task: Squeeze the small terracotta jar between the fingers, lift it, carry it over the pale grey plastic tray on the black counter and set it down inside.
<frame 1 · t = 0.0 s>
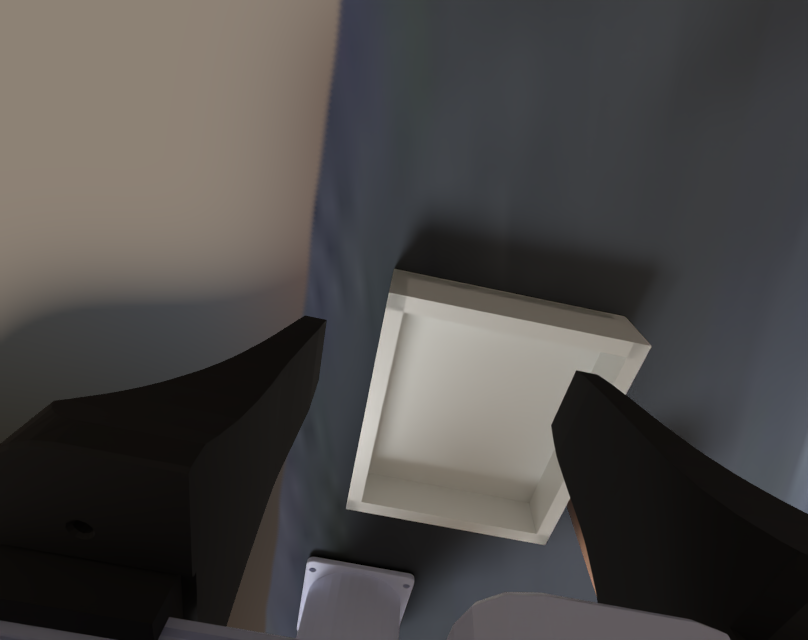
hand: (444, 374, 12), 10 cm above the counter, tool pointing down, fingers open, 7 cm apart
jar: (598, 503, 28), on the counter
tray: (473, 401, 25), on the counter
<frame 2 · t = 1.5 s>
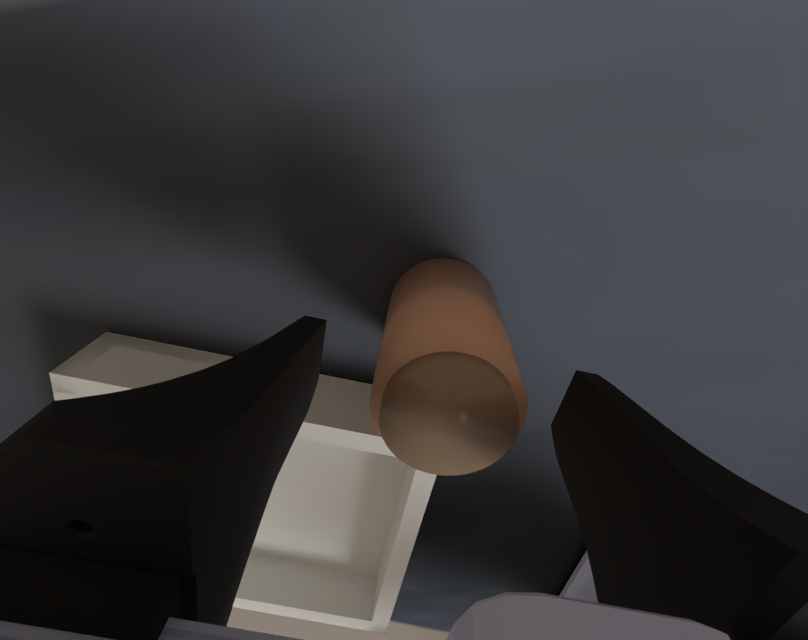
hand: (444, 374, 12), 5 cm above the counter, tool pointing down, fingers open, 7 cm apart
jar: (442, 308, 17), on the counter
tray: (268, 469, 21), on the counter
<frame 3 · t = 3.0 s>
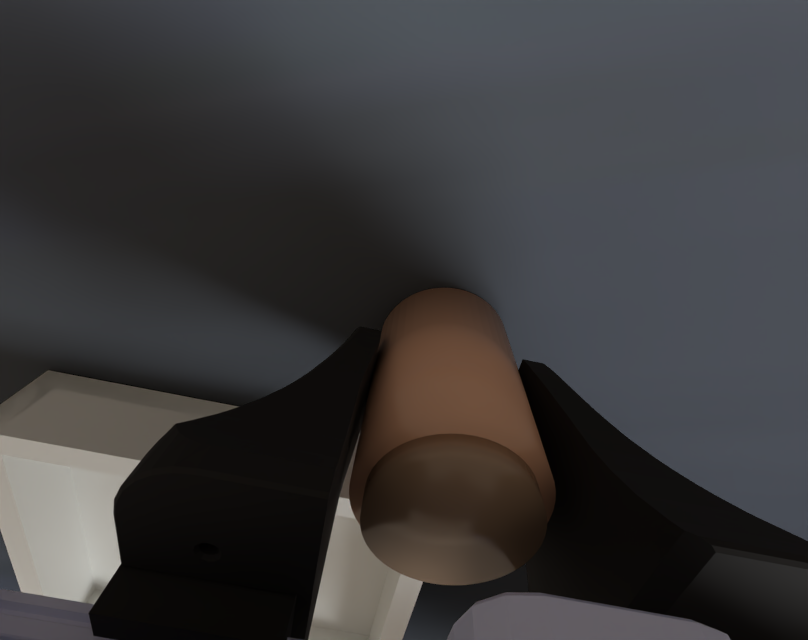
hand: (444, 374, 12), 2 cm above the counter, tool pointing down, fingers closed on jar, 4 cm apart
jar: (442, 345, 14), on the counter, touching gripper
tray: (244, 521, 18), on the counter
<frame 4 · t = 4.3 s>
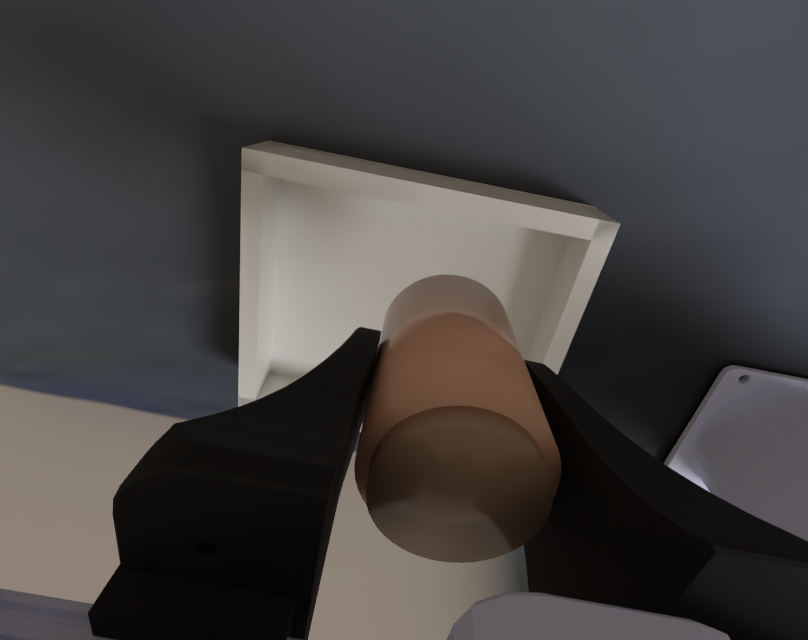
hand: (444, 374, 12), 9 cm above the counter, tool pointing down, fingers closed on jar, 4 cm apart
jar: (445, 333, 14), point 7 cm above the counter, touching gripper
tray: (407, 300, 21), on the counter
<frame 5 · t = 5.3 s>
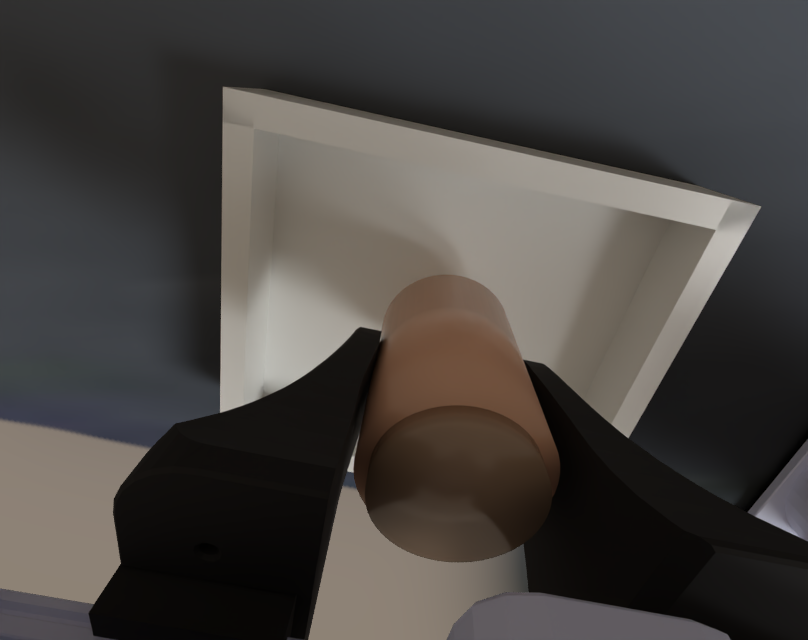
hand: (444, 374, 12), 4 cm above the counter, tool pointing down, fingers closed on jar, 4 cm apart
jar: (444, 333, 14), point 3 cm above the counter, touching gripper
tray: (440, 307, 16), on the counter
when the fingers open (4 cm above the counter, at t = 6.1 s): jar drops 2 cm, resting on tray.
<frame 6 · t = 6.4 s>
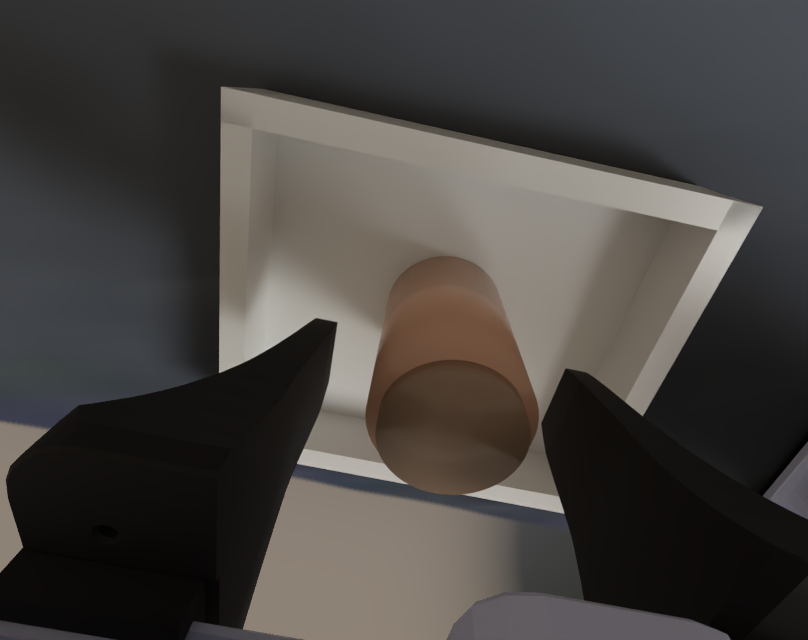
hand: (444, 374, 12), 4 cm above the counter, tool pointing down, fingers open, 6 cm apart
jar: (443, 310, 16), point 1 cm above the counter, touching tray
tray: (440, 308, 16), on the counter
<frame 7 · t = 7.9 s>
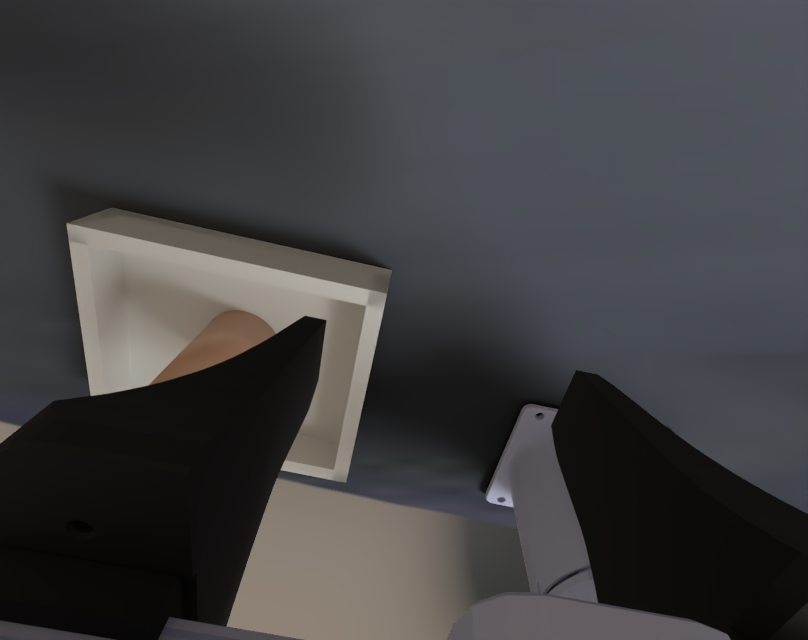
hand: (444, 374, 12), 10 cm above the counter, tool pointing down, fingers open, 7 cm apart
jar: (243, 343, 24), point 1 cm above the counter, touching tray
tray: (248, 341, 24), on the counter
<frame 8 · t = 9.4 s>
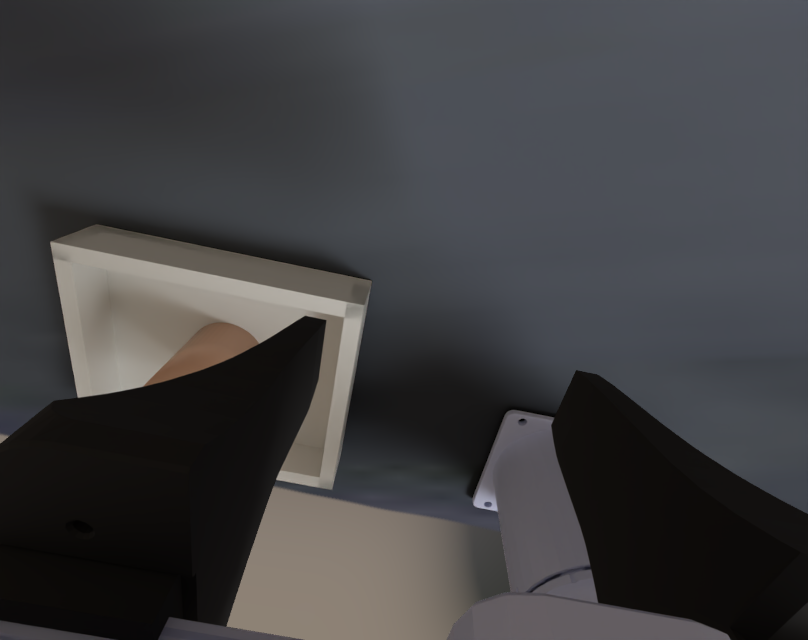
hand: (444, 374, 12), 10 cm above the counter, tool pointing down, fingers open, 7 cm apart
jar: (228, 354, 24), point 1 cm above the counter, touching tray
tray: (233, 352, 25), on the counter
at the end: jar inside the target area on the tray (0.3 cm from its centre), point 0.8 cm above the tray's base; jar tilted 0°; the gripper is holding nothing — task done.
